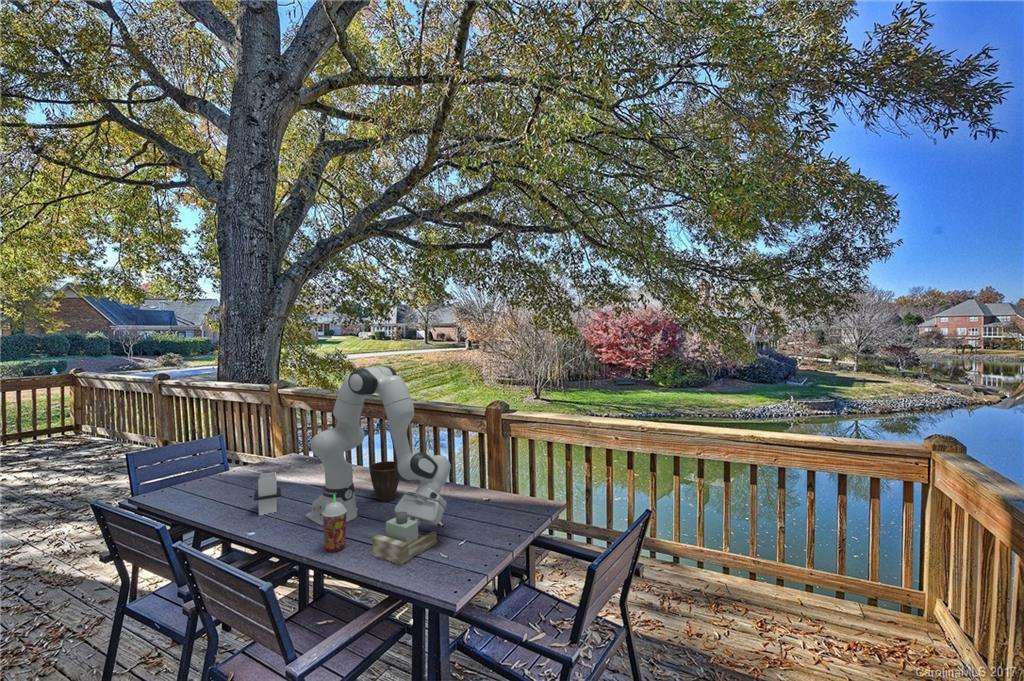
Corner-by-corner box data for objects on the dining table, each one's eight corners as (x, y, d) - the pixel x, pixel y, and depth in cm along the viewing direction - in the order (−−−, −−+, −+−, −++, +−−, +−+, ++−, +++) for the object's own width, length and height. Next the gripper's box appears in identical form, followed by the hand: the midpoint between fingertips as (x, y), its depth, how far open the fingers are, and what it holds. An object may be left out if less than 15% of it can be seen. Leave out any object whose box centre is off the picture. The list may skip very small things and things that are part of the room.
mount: (372, 555, 167) (372, 537, 167) (409, 535, 183) (409, 518, 183) (401, 565, 160) (401, 546, 160) (437, 543, 176) (437, 526, 176)
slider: (386, 546, 170) (385, 513, 170) (397, 540, 175) (397, 508, 175) (406, 553, 165) (406, 519, 164) (418, 546, 170) (417, 513, 170)
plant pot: (406, 493, 229) (406, 461, 229) (395, 505, 215) (395, 470, 214) (376, 493, 231) (376, 460, 230) (364, 504, 216) (364, 470, 216)
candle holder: (237, 507, 214) (236, 472, 213) (296, 498, 225) (295, 464, 225) (234, 528, 192) (234, 488, 191) (299, 516, 203) (299, 479, 203)
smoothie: (319, 548, 172) (318, 494, 172) (341, 541, 178) (340, 489, 178) (328, 556, 167) (328, 500, 166) (351, 548, 172) (350, 494, 172)
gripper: (401, 487, 184) (383, 520, 176) (442, 496, 174) (425, 532, 166) (409, 495, 188) (392, 528, 180) (450, 504, 178) (434, 540, 170)
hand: (408, 530), depth 173 cm, fingers closed, pressing on slider
